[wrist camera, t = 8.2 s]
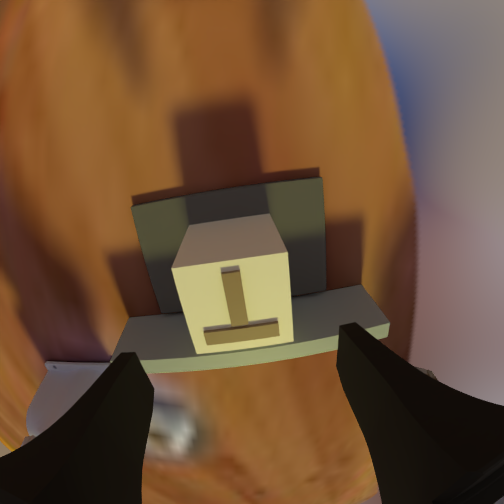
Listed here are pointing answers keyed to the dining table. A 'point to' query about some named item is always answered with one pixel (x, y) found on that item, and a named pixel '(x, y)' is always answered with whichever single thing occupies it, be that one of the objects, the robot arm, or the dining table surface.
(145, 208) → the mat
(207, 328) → the letter block
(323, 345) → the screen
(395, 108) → the dining table surface
